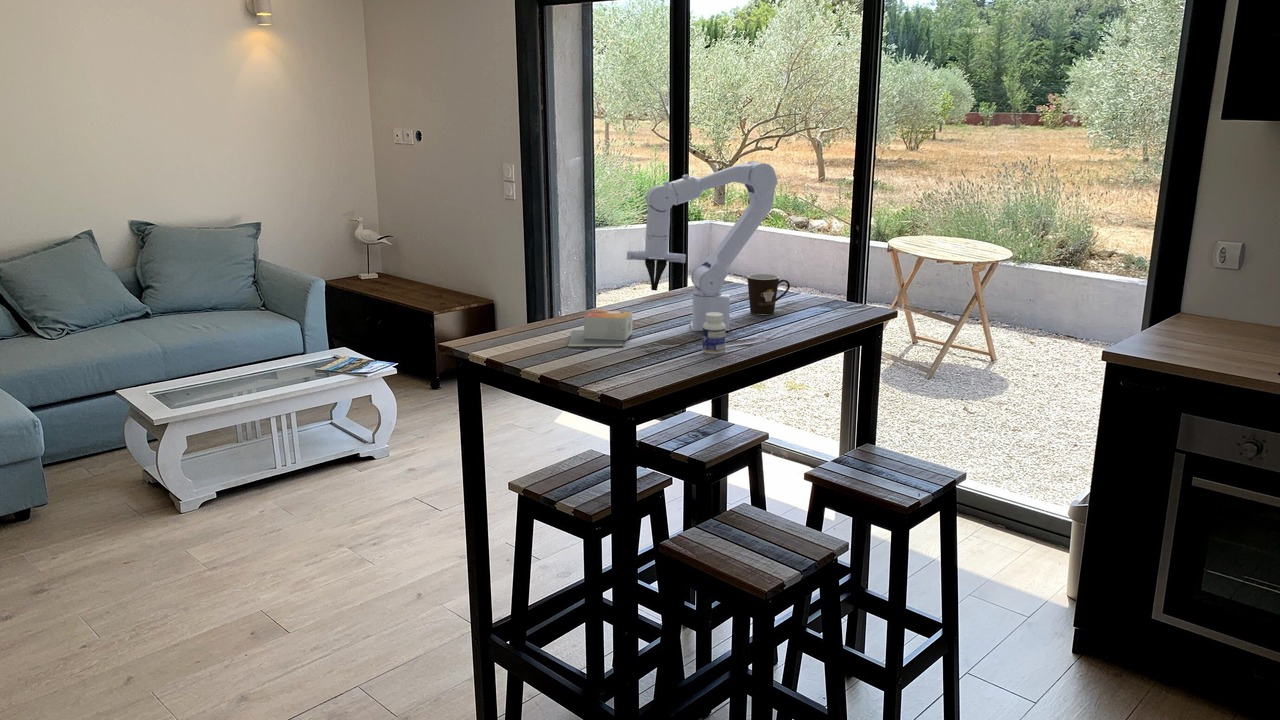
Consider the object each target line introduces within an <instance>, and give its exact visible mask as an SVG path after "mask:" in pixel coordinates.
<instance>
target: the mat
mask: <svg viewBox="0 0 1280 720" xmlns="http://www.w3.org/2000/svg"><path fill="white" fill-rule="evenodd" d="M624 341H625V340H601V339H585V338H584V329H572V331H571V335H570V338H569V342H568V345H567V348H568V349H570V348H572V349H576V348H577V349H579V348H580V349H581V348H582V349H583V348H586V349H587V348H592V349H593V348H595V349H597V348H599V349H600V348H611V349H612V348H624V344H625V343H624Z"/></svg>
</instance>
